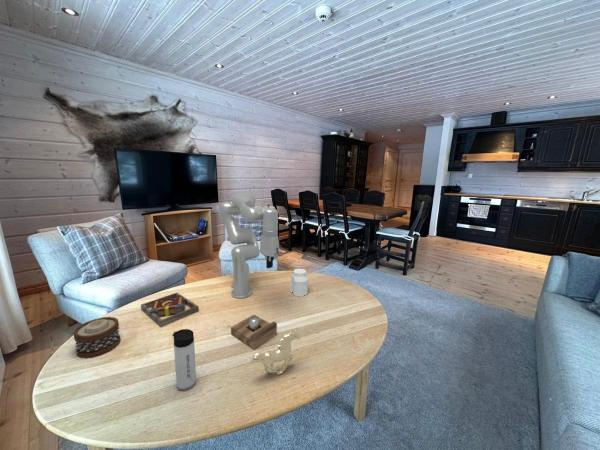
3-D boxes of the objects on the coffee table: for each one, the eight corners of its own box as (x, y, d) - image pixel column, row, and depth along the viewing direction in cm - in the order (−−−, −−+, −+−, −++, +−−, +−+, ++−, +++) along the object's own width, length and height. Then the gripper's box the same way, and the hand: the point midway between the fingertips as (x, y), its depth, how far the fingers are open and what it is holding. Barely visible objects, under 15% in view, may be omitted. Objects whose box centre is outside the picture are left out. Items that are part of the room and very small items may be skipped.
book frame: (141, 309, 132) (140, 304, 131) (177, 297, 147) (177, 292, 146) (160, 327, 117) (160, 321, 116) (198, 311, 132) (198, 306, 131)
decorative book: (154, 308, 134) (153, 300, 133) (186, 302, 140) (185, 294, 139) (150, 319, 124) (149, 310, 123) (185, 313, 130) (184, 304, 129)
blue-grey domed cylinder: (247, 334, 114) (247, 319, 112) (254, 331, 117) (254, 315, 115) (253, 338, 111) (253, 322, 110) (260, 334, 114) (260, 319, 113)
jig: (231, 334, 113) (230, 323, 112) (253, 321, 124) (253, 310, 123) (253, 350, 104) (253, 337, 103) (276, 334, 115) (276, 323, 114)
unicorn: (252, 387, 85) (251, 343, 82) (248, 379, 89) (248, 337, 86) (301, 368, 95) (303, 328, 92) (296, 361, 98) (298, 323, 95)
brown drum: (113, 329, 97) (64, 338, 91) (116, 353, 99) (68, 363, 93) (122, 311, 110) (80, 317, 104) (125, 332, 112) (84, 340, 106)
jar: (309, 295, 155) (310, 273, 152) (295, 297, 151) (296, 275, 148) (301, 287, 165) (302, 267, 162) (288, 290, 161) (289, 268, 158)
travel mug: (180, 376, 89) (176, 327, 85) (198, 376, 89) (196, 327, 86) (172, 391, 83) (168, 339, 79) (192, 390, 83) (189, 338, 79)
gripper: (254, 231, 125) (254, 265, 128) (275, 237, 115) (274, 273, 119) (265, 229, 130) (264, 262, 134) (286, 234, 121) (285, 269, 125)
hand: (269, 267), depth 126 cm, fingers closed
